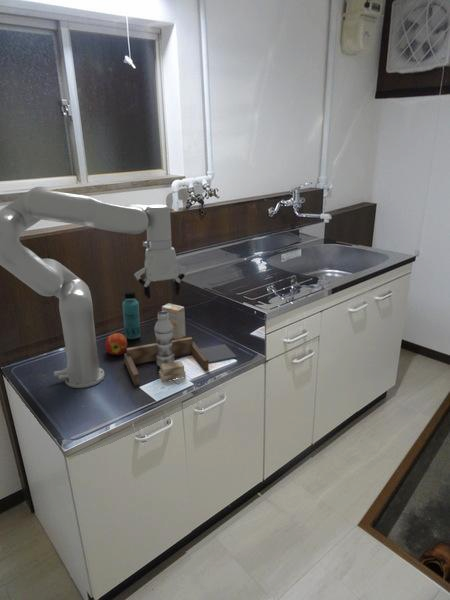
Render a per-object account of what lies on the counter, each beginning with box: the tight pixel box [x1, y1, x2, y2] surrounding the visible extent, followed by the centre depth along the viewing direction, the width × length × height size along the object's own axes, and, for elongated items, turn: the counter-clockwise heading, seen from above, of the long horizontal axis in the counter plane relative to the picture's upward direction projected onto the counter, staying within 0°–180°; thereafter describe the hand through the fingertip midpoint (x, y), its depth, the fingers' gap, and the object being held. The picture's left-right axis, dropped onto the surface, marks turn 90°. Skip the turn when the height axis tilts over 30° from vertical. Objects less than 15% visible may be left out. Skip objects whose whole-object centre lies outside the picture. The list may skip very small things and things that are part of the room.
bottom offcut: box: [158, 370, 186, 383], centre depth 141 cm, size 8×4×2 cm, turn 113°
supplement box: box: [161, 303, 187, 340], centre depth 169 cm, size 8×5×13 cm, turn 58°
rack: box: [123, 336, 210, 386], centre depth 147 cm, size 26×16×6 cm, turn 113°
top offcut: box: [160, 360, 185, 376], centre depth 140 cm, size 7×4×2 cm, turn 111°
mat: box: [199, 343, 237, 364], centre depth 157 cm, size 11×11×1 cm
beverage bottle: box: [121, 290, 141, 340], centre depth 165 cm, size 6×7×20 cm
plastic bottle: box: [153, 310, 175, 368], centre depth 145 cm, size 6×7×20 cm
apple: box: [104, 332, 128, 356], centre depth 156 cm, size 8×8×8 cm
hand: (162, 295), depth 140 cm, fingers open, 9 cm apart
